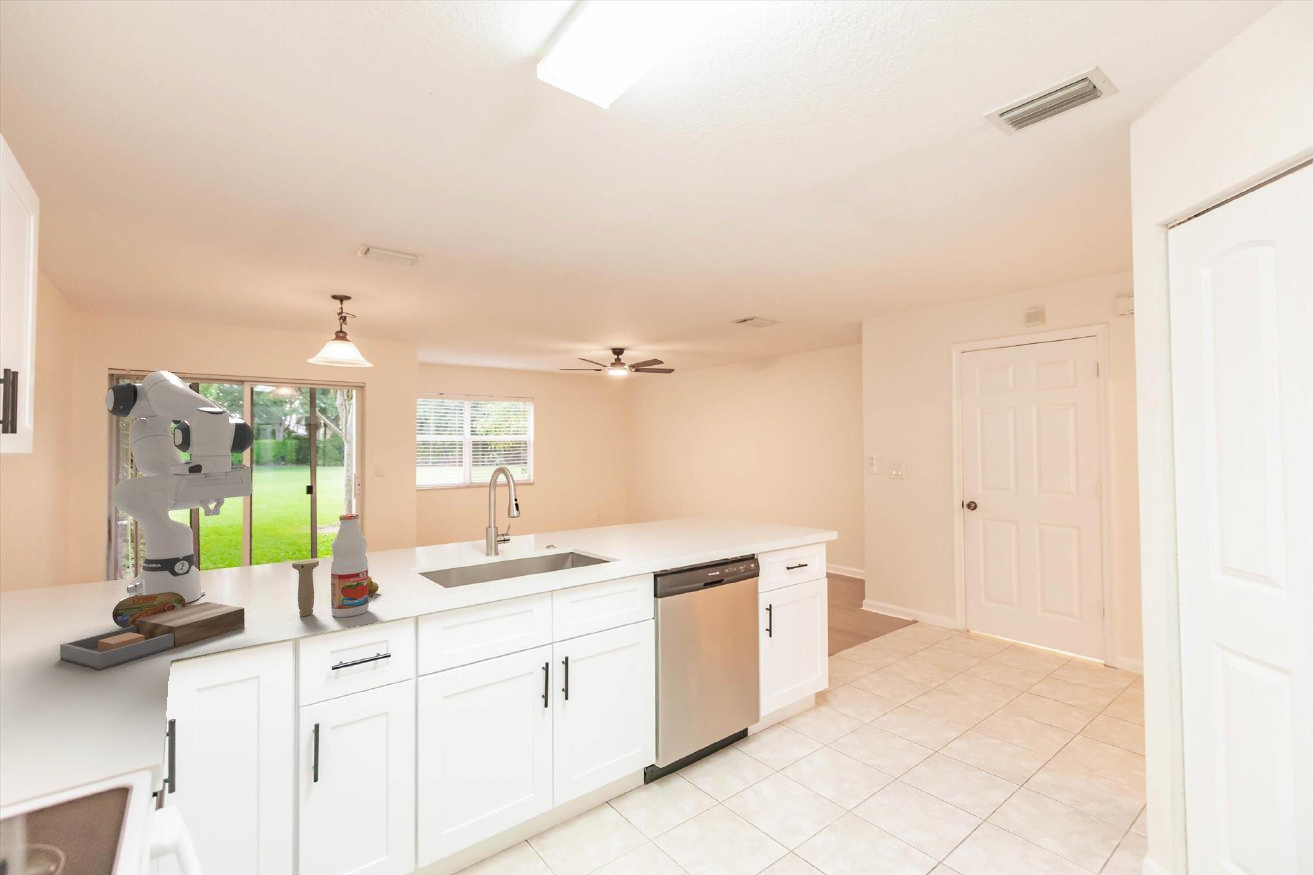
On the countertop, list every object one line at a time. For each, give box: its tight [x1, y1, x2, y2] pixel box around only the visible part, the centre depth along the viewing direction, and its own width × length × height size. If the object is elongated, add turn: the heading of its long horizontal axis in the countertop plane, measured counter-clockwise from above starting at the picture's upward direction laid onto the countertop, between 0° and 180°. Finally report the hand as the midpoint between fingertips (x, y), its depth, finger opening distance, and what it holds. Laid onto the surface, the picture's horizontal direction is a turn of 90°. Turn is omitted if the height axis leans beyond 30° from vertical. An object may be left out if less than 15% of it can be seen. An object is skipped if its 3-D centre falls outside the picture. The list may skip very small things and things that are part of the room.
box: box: [59, 626, 175, 671], centre depth 135 cm, size 16×14×4 cm
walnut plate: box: [136, 601, 245, 648], centre depth 149 cm, size 16×16×5 cm
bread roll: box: [368, 575, 379, 596], centre depth 181 cm, size 13×10×8 cm
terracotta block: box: [98, 632, 144, 652], centre depth 135 cm, size 6×6×3 cm
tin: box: [111, 592, 187, 629], centre depth 156 cm, size 15×3×8 cm, turn 117°
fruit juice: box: [330, 513, 370, 618], centre depth 165 cm, size 9×9×28 cm
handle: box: [291, 559, 320, 617], centre depth 163 cm, size 5×6×15 cm
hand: (212, 515), depth 161 cm, fingers closed
